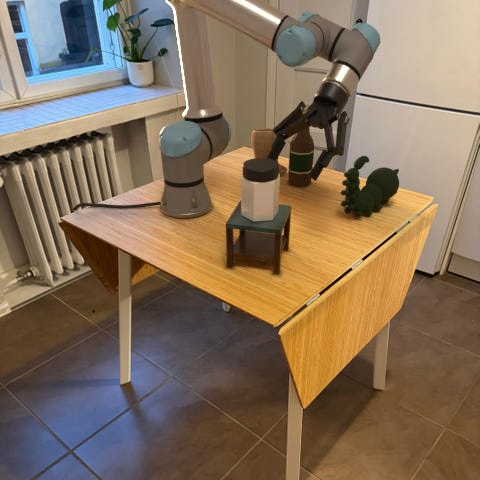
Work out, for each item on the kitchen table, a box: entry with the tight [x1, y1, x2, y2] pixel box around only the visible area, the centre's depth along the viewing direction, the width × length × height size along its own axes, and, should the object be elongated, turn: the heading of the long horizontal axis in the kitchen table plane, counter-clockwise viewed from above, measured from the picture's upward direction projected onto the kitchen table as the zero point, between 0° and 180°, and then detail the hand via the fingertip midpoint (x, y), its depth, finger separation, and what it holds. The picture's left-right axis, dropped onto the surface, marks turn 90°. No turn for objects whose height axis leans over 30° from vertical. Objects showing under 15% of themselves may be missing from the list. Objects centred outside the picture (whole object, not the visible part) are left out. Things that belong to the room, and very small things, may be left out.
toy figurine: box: [340, 155, 400, 218], centre depth 134 cm, size 9×19×25 cm
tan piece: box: [250, 127, 289, 175], centre depth 157 cm, size 15×12×15 cm
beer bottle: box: [287, 104, 315, 188], centre depth 148 cm, size 8×8×24 cm
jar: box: [240, 157, 281, 222], centre depth 108 cm, size 9×8×12 cm
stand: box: [225, 199, 292, 276], centre depth 115 cm, size 13×13×12 cm
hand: (290, 170), depth 112 cm, fingers open, 13 cm apart
